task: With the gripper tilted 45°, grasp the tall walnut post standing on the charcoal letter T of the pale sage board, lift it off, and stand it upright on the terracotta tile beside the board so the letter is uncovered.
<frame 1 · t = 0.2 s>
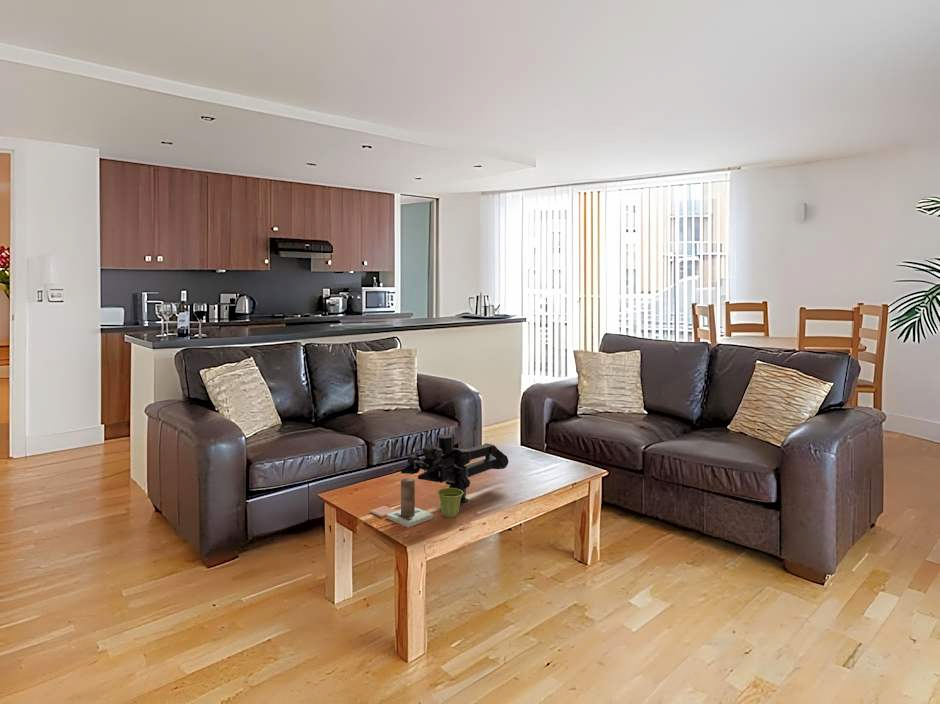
hand: (409, 474, 230), 17 cm above the table, tool horizontal, fingers open, 9 cm apart
plant pot: (450, 515, 237), on the table
letter board: (409, 518, 233), on the table
terracotta tile: (383, 512, 238), on the table
walnut post: (407, 514, 232), point 2 cm above the table, touching letter board
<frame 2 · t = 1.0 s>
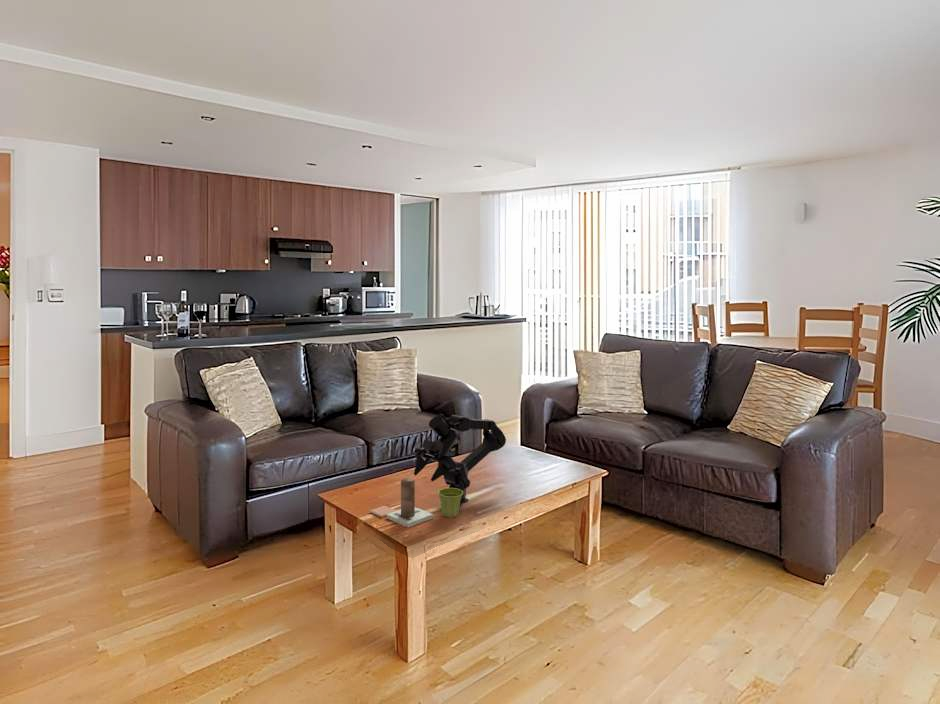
hand: (423, 477, 236), 14 cm above the table, tool tilted 45°, fingers open, 9 cm apart
nothing on the table moved.
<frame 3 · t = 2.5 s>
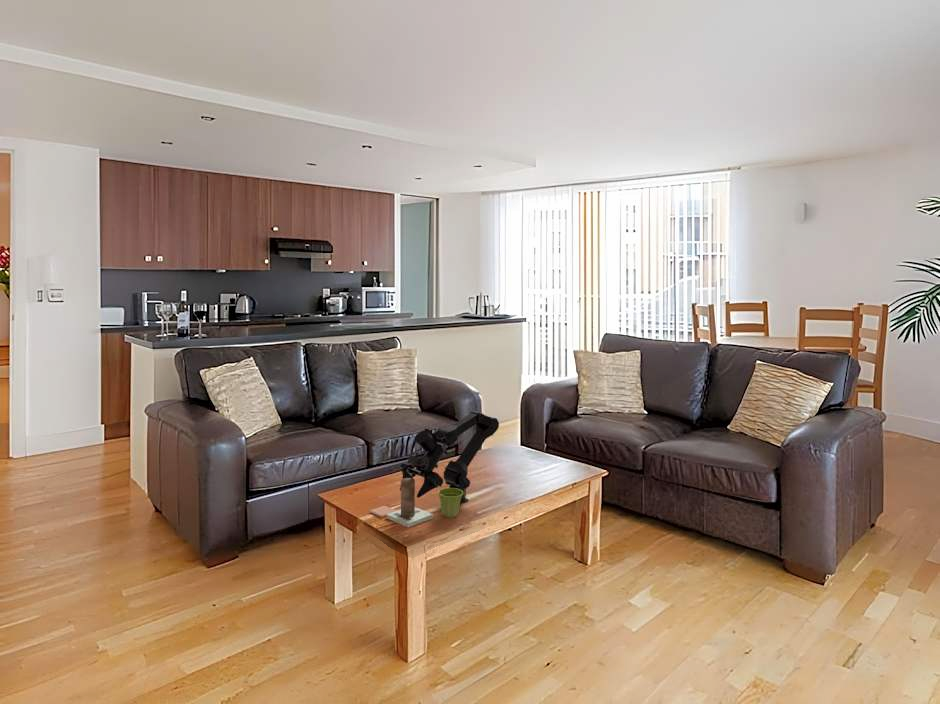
hand: (408, 493, 231), 9 cm above the table, tool tilted 45°, fingers open, 9 cm apart
nothing on the table moved.
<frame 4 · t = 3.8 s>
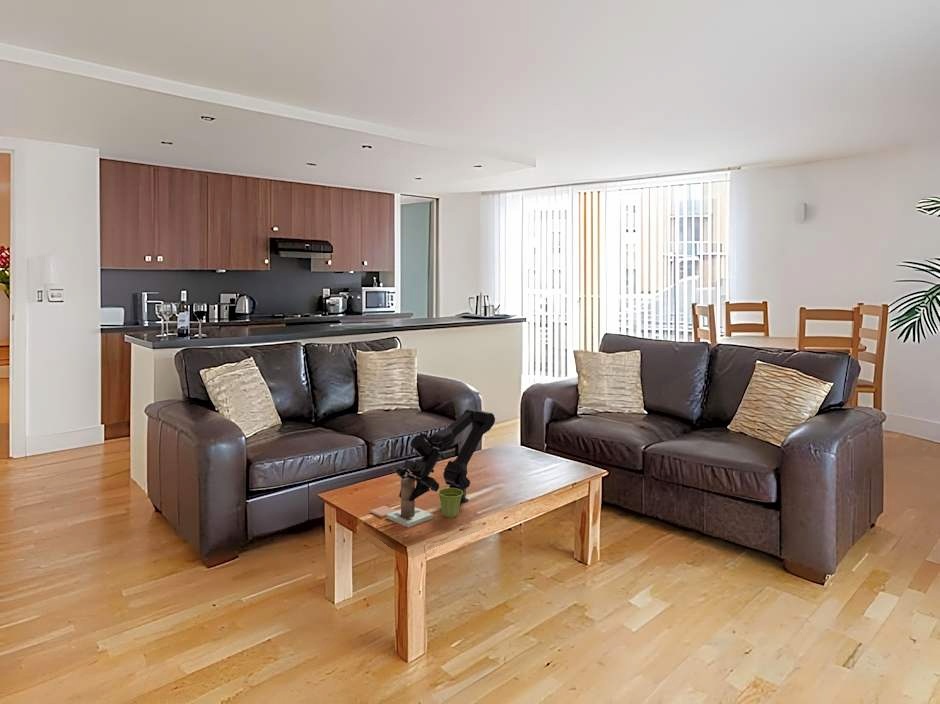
hand: (404, 498, 230), 8 cm above the table, tool tilted 45°, fingers closed on walnut post, 5 cm apart
walnut post: (407, 514, 232), point 2 cm above the table, touching gripper, letter board
everything else where it was.
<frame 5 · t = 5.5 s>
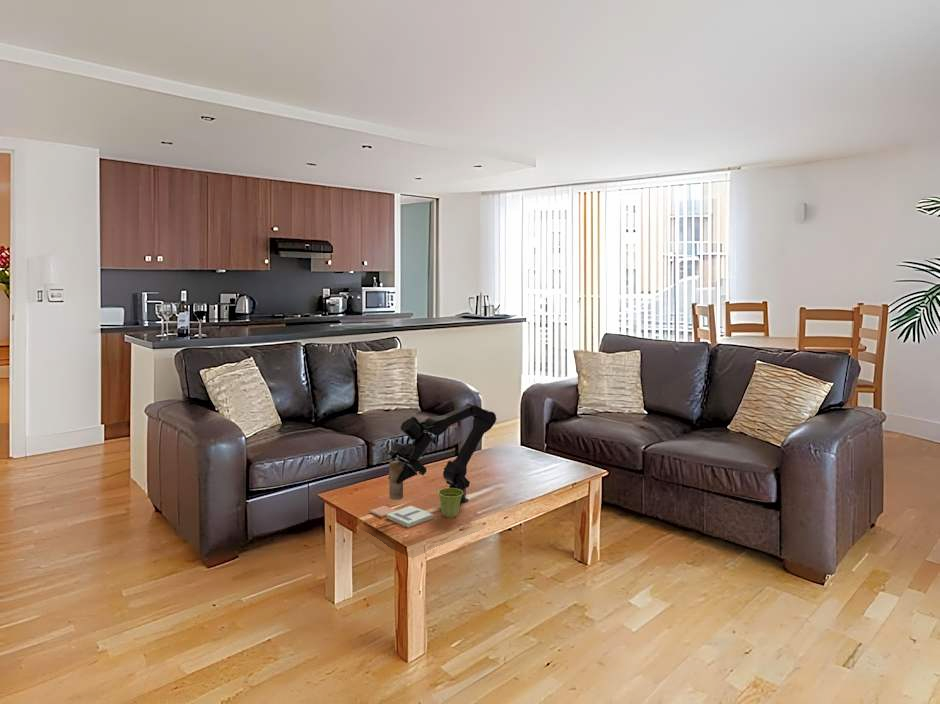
hand: (392, 481, 231), 14 cm above the table, tool tilted 45°, fingers closed on walnut post, 5 cm apart
walnut post: (396, 497, 233), point 7 cm above the table, touching gripper
everything else where it was.
when the fingers open (8 cm above the table, at t = 7.7 s): walnut post drops 1 cm, resting on terracotta tile.
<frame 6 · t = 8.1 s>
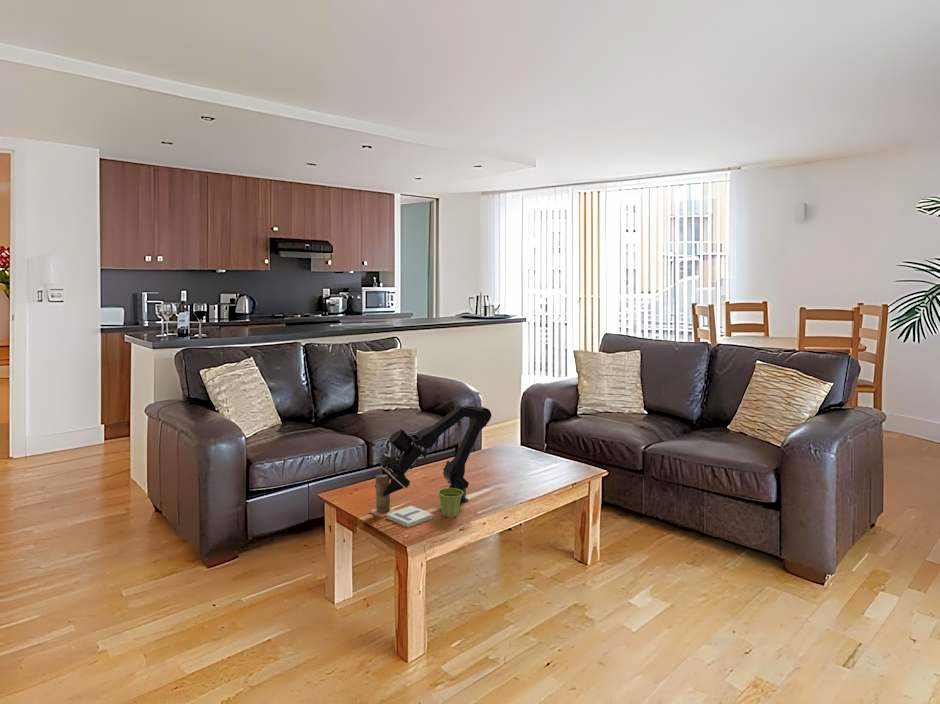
hand: (379, 491, 236), 8 cm above the table, tool tilted 45°, fingers open, 9 cm apart
walnut post: (383, 510, 238), point 1 cm above the table, touching terracotta tile
everything else where it was.
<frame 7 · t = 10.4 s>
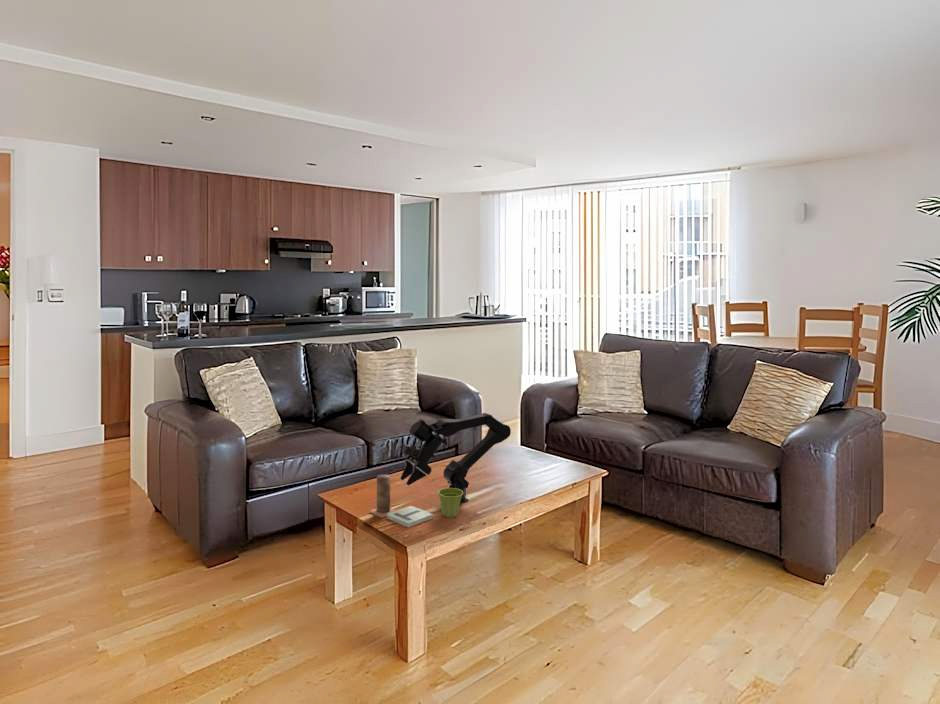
hand: (404, 482, 239), 11 cm above the table, tool tilted 40°, fingers open, 9 cm apart
nothing on the table moved.
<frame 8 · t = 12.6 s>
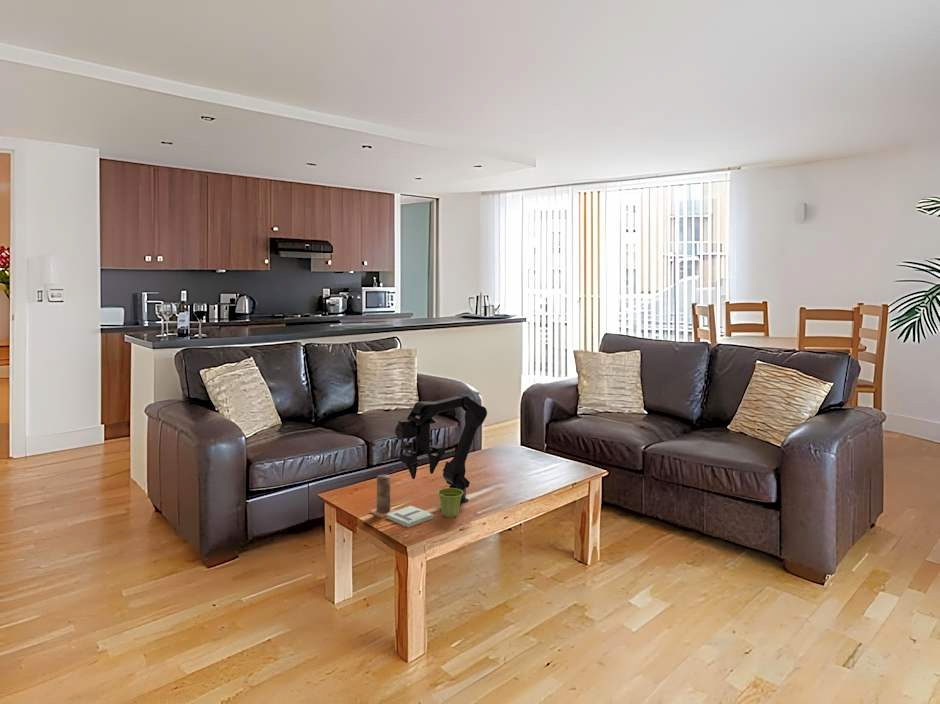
hand: (422, 476, 240), 13 cm above the table, tool pointing down, fingers open, 9 cm apart
nothing on the table moved.
at the end: walnut post 0.1 cm off-centre on the terracotta tile, point 0.8 cm above the terracotta tile's base; walnut post tilted 1°; walnut post touching terracotta tile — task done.
